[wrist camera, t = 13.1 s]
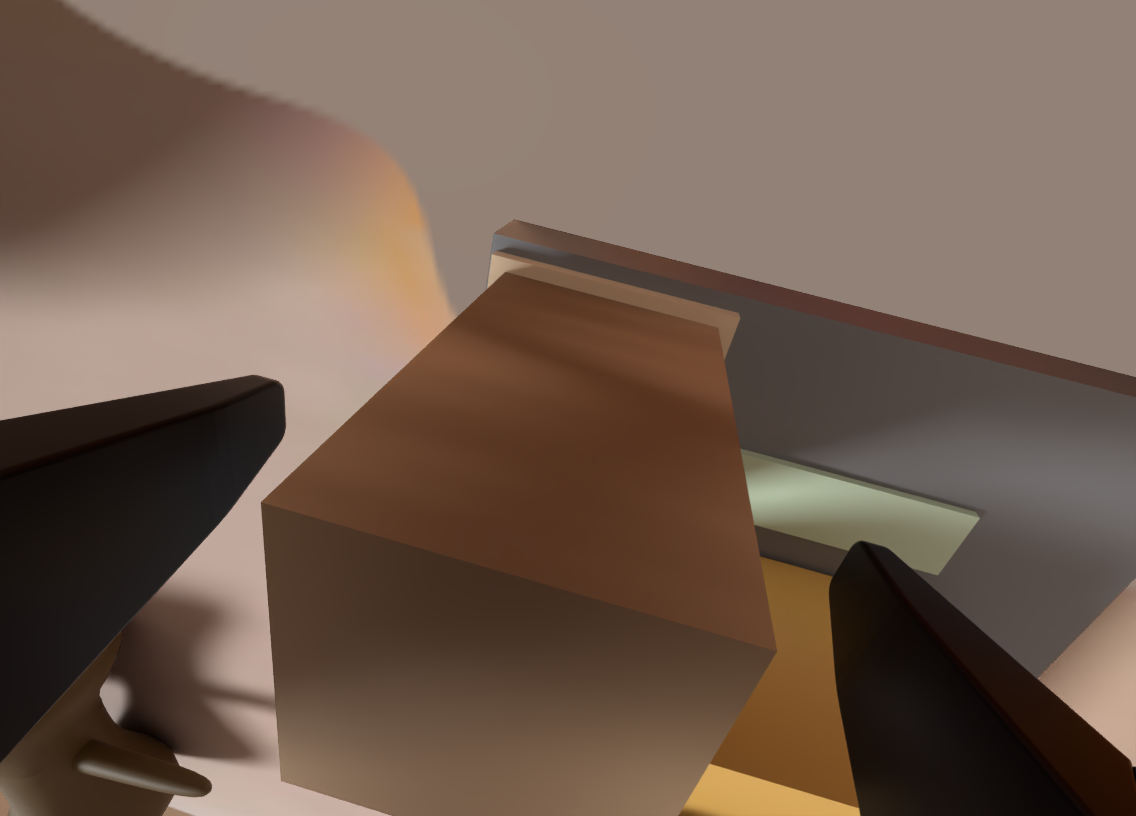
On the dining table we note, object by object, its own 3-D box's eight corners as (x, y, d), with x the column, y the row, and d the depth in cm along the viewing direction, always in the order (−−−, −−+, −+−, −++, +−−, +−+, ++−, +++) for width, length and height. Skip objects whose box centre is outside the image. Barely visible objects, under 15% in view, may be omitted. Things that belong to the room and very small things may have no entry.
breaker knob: (607, 641, 15) (572, 912, 10) (650, 525, 13) (632, 791, 8) (797, 696, 14) (860, 1004, 10) (870, 587, 13) (997, 901, 8)
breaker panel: (430, 755, 21) (375, 899, 18) (514, 219, 12) (432, 275, 8) (795, 866, 21) (822, 1043, 17) (1205, 395, 11) (1496, 552, 7)
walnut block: (476, 448, 12) (281, 780, 6) (505, 271, 10) (260, 502, 4) (655, 499, 12) (633, 890, 6) (718, 327, 10) (776, 651, 4)
